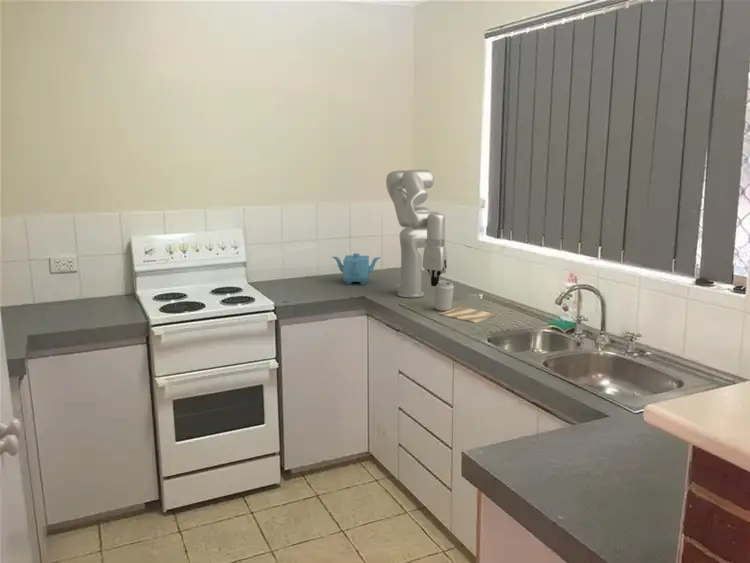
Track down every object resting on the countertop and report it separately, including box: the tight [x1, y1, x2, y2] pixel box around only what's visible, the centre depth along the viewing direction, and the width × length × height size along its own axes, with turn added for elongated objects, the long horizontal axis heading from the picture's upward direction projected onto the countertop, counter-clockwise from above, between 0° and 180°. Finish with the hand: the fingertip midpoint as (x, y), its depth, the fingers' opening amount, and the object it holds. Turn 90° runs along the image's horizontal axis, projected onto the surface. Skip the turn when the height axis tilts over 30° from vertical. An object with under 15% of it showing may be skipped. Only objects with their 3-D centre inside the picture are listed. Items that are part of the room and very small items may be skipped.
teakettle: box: [332, 252, 382, 286], centre depth 338 cm, size 19×19×15 cm
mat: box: [438, 306, 498, 324], centre depth 278 cm, size 18×16×1 cm
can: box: [433, 279, 455, 312], centre depth 285 cm, size 8×8×12 cm
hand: (434, 285), depth 287 cm, fingers closed
